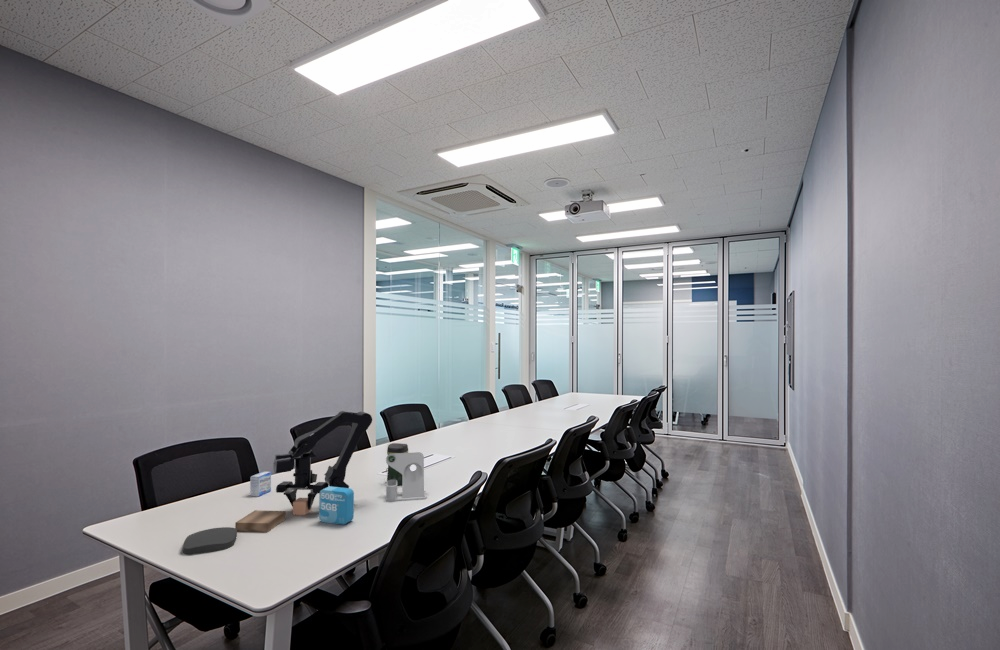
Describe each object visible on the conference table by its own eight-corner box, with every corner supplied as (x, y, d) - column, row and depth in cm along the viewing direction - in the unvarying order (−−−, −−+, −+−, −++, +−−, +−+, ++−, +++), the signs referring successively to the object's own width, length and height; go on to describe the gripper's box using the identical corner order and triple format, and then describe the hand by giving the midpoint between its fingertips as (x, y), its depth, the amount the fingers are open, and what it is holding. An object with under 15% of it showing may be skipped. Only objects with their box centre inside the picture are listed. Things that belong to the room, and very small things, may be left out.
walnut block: (285, 519, 177) (285, 511, 177) (268, 531, 165) (268, 523, 165) (254, 518, 178) (254, 510, 178) (235, 531, 166) (235, 522, 166)
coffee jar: (410, 481, 225) (410, 442, 226) (403, 486, 217) (403, 445, 218) (392, 479, 227) (392, 441, 228) (384, 484, 220) (384, 444, 220)
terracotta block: (311, 510, 186) (311, 497, 186) (305, 515, 181) (305, 502, 182) (298, 510, 187) (299, 497, 187) (292, 515, 182) (292, 501, 182)
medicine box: (258, 497, 202) (259, 476, 202) (249, 496, 203) (250, 476, 203) (271, 491, 210) (271, 471, 210) (262, 490, 211) (262, 471, 211)
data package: (318, 521, 175) (319, 489, 175) (326, 517, 179) (326, 485, 179) (346, 525, 171) (347, 492, 172) (353, 520, 176) (354, 488, 176)
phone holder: (385, 502, 196) (385, 458, 197) (385, 494, 206) (386, 453, 207) (427, 499, 200) (427, 456, 200) (425, 491, 210) (426, 451, 210)
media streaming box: (179, 557, 146) (180, 548, 146) (189, 539, 160) (189, 530, 160) (233, 549, 152) (233, 540, 152) (238, 532, 166) (238, 524, 166)
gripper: (334, 464, 192) (333, 502, 192) (290, 463, 193) (289, 501, 193) (322, 471, 181) (322, 512, 180) (275, 471, 182) (274, 511, 181)
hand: (302, 509), depth 184 cm, fingers open, 6 cm apart
